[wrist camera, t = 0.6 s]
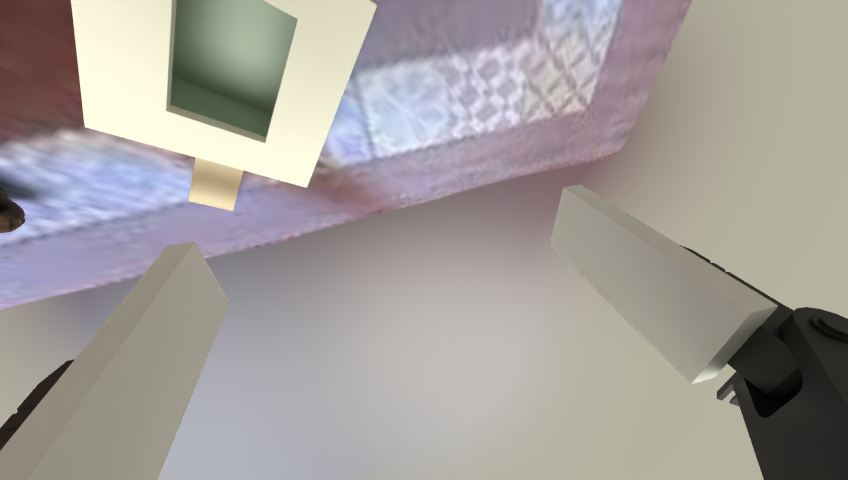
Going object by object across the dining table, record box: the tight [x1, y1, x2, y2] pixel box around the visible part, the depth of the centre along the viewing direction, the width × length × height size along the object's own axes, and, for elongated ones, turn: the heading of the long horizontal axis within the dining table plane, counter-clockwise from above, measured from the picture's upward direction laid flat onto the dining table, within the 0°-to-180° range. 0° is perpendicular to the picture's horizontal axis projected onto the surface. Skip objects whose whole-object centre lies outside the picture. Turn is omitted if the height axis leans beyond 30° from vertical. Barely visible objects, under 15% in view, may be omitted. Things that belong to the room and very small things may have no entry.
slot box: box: [71, 0, 377, 188], centre depth 23 cm, size 15×14×10 cm
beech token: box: [189, 158, 244, 211], centre depth 32 cm, size 7×4×4 cm, turn 147°
